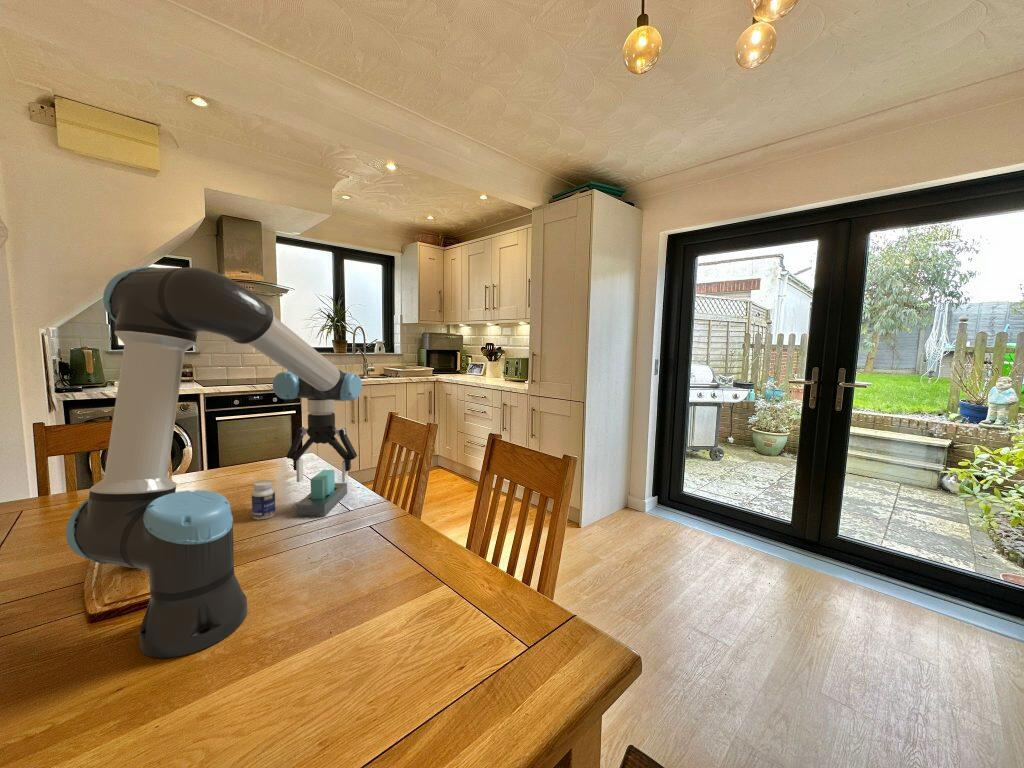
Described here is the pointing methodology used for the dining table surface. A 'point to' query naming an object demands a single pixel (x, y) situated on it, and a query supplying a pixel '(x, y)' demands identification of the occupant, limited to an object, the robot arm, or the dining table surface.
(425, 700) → the dining table surface
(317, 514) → the rail
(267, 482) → the pill bottle
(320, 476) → the clip
